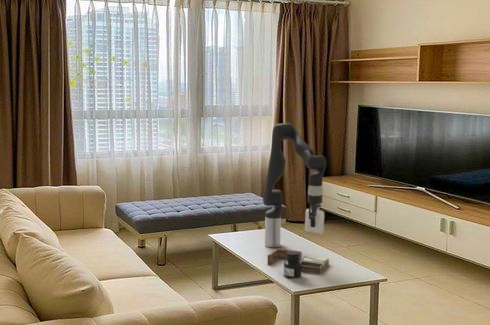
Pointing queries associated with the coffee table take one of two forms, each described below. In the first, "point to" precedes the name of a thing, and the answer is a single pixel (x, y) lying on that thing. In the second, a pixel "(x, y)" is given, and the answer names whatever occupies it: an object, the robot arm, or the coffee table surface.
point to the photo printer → (318, 222)
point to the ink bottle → (292, 265)
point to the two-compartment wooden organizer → (314, 264)
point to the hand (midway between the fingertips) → (314, 225)
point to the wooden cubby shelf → (278, 255)
